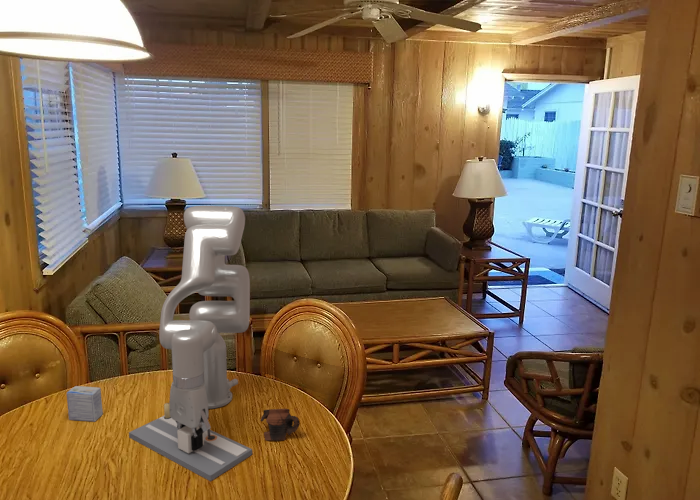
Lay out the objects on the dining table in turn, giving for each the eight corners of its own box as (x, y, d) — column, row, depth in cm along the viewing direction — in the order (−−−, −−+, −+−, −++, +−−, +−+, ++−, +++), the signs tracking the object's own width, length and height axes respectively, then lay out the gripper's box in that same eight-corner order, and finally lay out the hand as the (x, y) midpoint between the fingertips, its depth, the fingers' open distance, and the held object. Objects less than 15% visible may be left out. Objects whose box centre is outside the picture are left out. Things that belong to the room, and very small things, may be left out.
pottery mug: (253, 441, 150) (253, 410, 153) (271, 440, 159) (271, 410, 161) (292, 439, 146) (292, 407, 149) (309, 439, 154) (308, 408, 157)
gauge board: (172, 416, 161) (171, 398, 160) (252, 454, 143) (252, 434, 142) (129, 437, 150) (127, 417, 148) (210, 481, 132) (209, 459, 131)
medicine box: (103, 414, 161) (101, 387, 159) (94, 422, 157) (92, 394, 155) (77, 412, 162) (75, 385, 160) (68, 420, 157) (65, 392, 156)
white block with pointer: (205, 433, 149) (204, 416, 148) (215, 438, 147) (214, 420, 146) (178, 448, 142) (177, 430, 141) (188, 453, 140) (187, 435, 139)
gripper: (154, 375, 140) (158, 440, 144) (199, 394, 131) (201, 463, 135) (179, 365, 146) (181, 428, 150) (223, 383, 137) (224, 449, 141)
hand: (191, 444), depth 143 cm, fingers closed on white block with pointer, 4 cm apart
